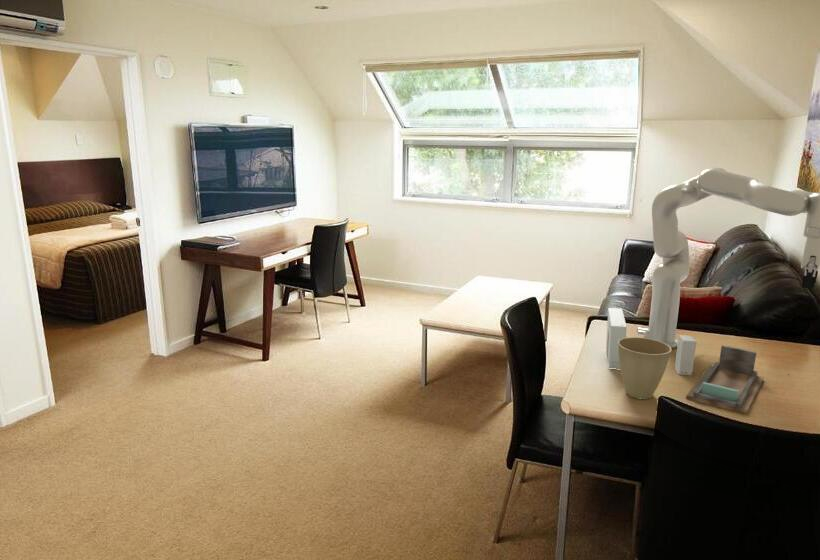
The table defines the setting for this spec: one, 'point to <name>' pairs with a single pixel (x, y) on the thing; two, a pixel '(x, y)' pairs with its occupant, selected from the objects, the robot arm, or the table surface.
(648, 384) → the plant pot
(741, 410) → the tray
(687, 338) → the skincare box
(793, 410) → the table surface
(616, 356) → the skincare box
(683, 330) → the table surface
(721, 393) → the pusher
